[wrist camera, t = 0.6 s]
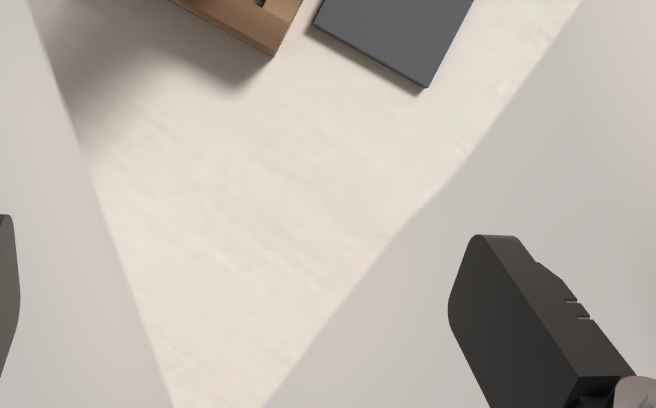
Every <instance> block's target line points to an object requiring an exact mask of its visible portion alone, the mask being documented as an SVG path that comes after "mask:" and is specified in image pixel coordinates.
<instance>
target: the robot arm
mask: <svg viewBox="0 0 656 408" xmlns="http://www.w3.org/2000/svg"><path fill="white" fill-rule="evenodd" d="M19 310H20V284H19V275H18V265H17V255H16V245H15V236H14V227H13V221H12V218H11V216H10V215H3V214H0V377H1V374H2V371H3V367H4V364H5V361H6V358H7V355H8V352H9V349H10V346H11V343H12V340H13V337H14V334H15V331H16V327H17V322H18V318H19ZM448 319H449V324H450V327H451V330H452V332H453V334H454V336H455V338H456V340H457V342H458V344H459V346H460V348H461V350H462V352H463V354H464V356H465V358H466V360H467V362H468V364H469V366H470V368H471V370H472V372H473V374H474V376H475V378H476V380H477V382H478V384H479V386H480V388H481V390H482V392H483V394H484V396H485V398H486V400H487V402H488V404H489V406H490V408H656V379H653V378H649V377H644V376H637V375H636V374H635V373H634V371H633V370H632V369H631V367H630V366H629V365H628V364H627V362H626V361H625V360H624V358H623V357H622V356H621V355H620V353H619V352H618V351H617V350H616V348H615V347H614V346H613V345H612V343H611V342H610V341H609V339H608V338H607V337H606V336H605V335H604V333H603V332H602V330H601V329H600V328H599V326H598V325H597V324H596V323H595V321H594V320H590V315H589V314H588V312H587V311H586V310H585V309H584V307H583V306H582V305H581V304H580V303H577V298H576V297H575V296H574V295H573V293H572V292H571V291H570V289H569V288H568V287H567V286H566V284H565V283H564V282H563V281H562V279H560V278H559V277H558V276H556V275H555V274H553V273H552V272H551V271H549V270H548V269H547V268H546V267H544V266H543V265H542V264H540V263H538V262H535V260H534V259H533V258H532V256H531V255H530V254H529V252H528V251H527V250H526V248H525V247H524V246H523V244H522V243H521V242H520V241H519V240H518V238H516V237H514V236H501V235H475V236H473V237H472V238H471V240H470V242H469V243H468V246H467V249H466V251H465V254H464V257H463V260H462V262H461V266H460V268H459V271H458V274H457V277H456V279H455V282H454V285H453V288H452V291H451V294H450V297H449V302H448Z"/></svg>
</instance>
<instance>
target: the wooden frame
mask: <svg viewBox="0 0 656 408" xmlns="http://www.w3.org/2000/svg"><path fill="white" fill-rule="evenodd" d="M169 1H171V2H173V3H175V4H176V5H178V6H180V7H182V8H184V9H186V10H187V11H189V12H191V13H193V14H195V15H197V16H198V17H200V18H202V19H204V20H206V21H207V22H209V23H211V24H213V25H215V26H217V27H218V28H220V29H222V30H224V31H226V32H228V33H229V34H231V35H233V36H235V37H237V38H239V39H240V40H242V41H244V42H246V43H248V44H249V45H251V46H253V47H255V48H257V49H259V50H260V51H262V52H264V53H266V54H268V55H270V56H271V57H273V58H274V56H275V54H276V52H277V51H278V49H279V47H280V45H281V43H282V41H283V39H284V37H285V35H286V33H287V31H288V29H289V27H290V25H291V23H292V21H293V19H294V17H295V15H296V13H297V12H298V10H299V8H300V6H301V4H302V2H303V0H266V2H265V4H264V6H263V8H261V7H259V6H258V5H256V4H254V3H252V2H250V1H249V0H169Z"/></svg>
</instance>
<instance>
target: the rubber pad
mask: <svg viewBox="0 0 656 408" xmlns="http://www.w3.org/2000/svg"><path fill="white" fill-rule="evenodd" d="M473 1H474V0H325V1H324V3H323V5H322V7H321V9H320V11H319V13H318V15H317V17H316V19H315V20H314V22H313V24H312V25H313V26H315V27H317V28H319V29H321V30H322V31H324V32H326V33H328V34H329V35H331V36H333V37H335V38H337V39H338V40H340V41H342V42H344V43H345V44H347V45H349V46H351V47H353V48H354V49H356V50H358V51H360V52H361V53H363V54H365V55H367V56H368V57H370V58H372V59H374V60H376V61H377V62H379V63H381V64H383V65H384V66H386V67H388V68H390V69H392V70H393V71H395V72H397V73H399V74H400V75H402V76H404V77H406V78H408V79H409V80H411V81H413V82H415V83H416V84H418V85H420V86H422V87H423V88H428V87H429V85H430V83H431V81H432V79H433V77H434V75H435V74H436V72H437V70H438V68H439V66H440V64H441V62H442V60H443V58H444V56H445V54H446V53H447V51H448V49H449V47H450V45H451V43H452V41H453V39H454V37H455V35H456V33H457V31H458V30H459V28H460V26H461V24H462V22H463V20H464V18H465V16H466V14H467V12H468V10H469V9H470V7H471V5H472V3H473Z"/></svg>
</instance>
